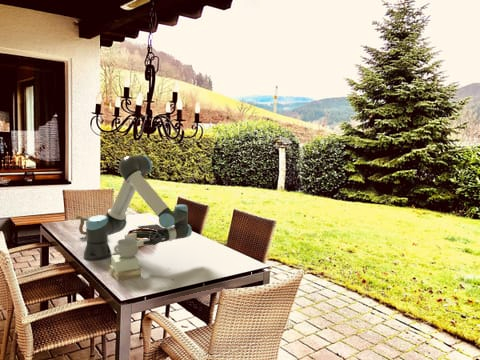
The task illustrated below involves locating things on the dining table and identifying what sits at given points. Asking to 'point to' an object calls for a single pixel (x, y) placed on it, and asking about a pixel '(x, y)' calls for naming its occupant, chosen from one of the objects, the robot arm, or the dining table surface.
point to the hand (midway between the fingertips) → (130, 240)
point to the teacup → (126, 248)
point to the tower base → (124, 273)
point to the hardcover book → (151, 227)
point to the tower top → (123, 263)
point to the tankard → (82, 225)
